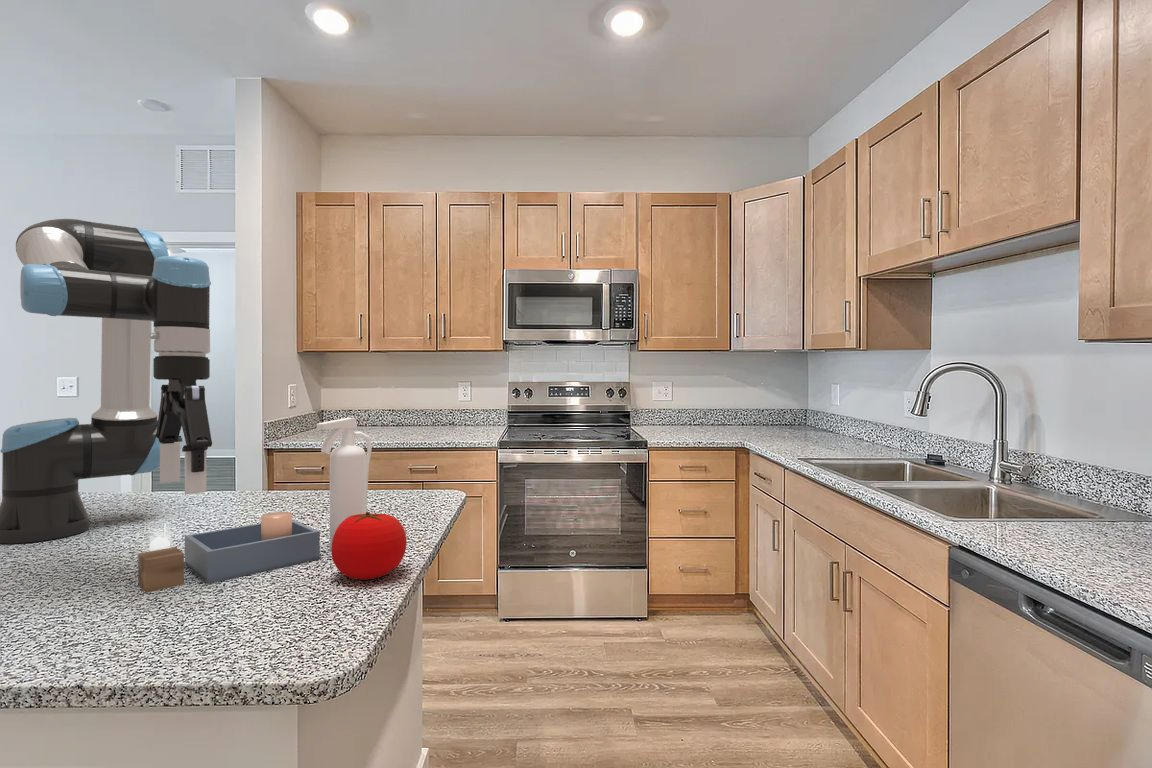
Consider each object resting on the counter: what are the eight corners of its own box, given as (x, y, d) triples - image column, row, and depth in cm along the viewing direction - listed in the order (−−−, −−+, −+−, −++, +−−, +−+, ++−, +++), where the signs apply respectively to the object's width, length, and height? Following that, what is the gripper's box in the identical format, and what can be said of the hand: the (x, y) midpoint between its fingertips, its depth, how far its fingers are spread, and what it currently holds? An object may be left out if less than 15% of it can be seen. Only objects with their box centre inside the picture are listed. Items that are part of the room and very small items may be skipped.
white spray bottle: (391, 542, 116) (386, 415, 116) (334, 559, 107) (327, 421, 106) (371, 537, 121) (366, 414, 120) (314, 553, 111) (308, 420, 110)
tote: (184, 564, 103) (184, 535, 103) (289, 544, 116) (289, 518, 116) (207, 583, 94) (207, 551, 93) (319, 559, 106) (319, 531, 106)
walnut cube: (138, 585, 93) (138, 553, 93) (175, 577, 97) (175, 546, 97) (145, 593, 90) (145, 560, 90) (183, 585, 93) (184, 553, 93)
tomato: (322, 572, 99) (322, 510, 99) (391, 559, 106) (391, 501, 106) (343, 593, 90) (343, 524, 90) (417, 577, 97) (417, 514, 97)
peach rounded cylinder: (256, 553, 107) (256, 515, 107) (285, 547, 111) (285, 510, 111) (267, 559, 104) (266, 519, 104) (296, 553, 108) (296, 515, 107)
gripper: (134, 355, 101) (134, 480, 101) (177, 352, 84) (178, 502, 84) (185, 357, 106) (185, 475, 106) (235, 354, 89) (235, 494, 90)
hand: (182, 487), depth 95 cm, fingers open, 13 cm apart
